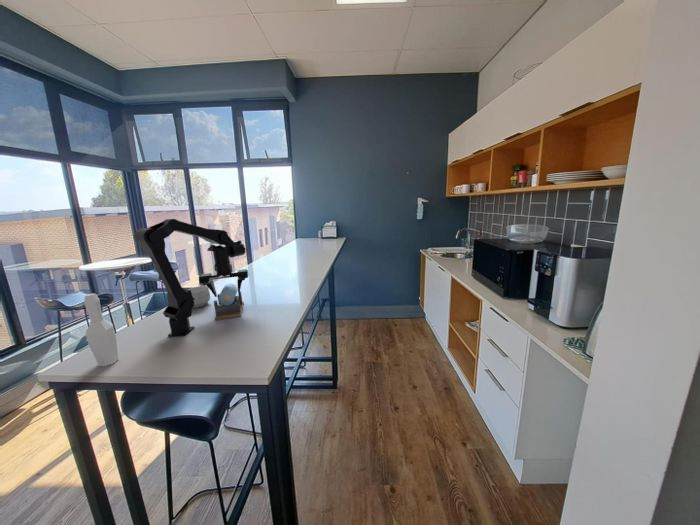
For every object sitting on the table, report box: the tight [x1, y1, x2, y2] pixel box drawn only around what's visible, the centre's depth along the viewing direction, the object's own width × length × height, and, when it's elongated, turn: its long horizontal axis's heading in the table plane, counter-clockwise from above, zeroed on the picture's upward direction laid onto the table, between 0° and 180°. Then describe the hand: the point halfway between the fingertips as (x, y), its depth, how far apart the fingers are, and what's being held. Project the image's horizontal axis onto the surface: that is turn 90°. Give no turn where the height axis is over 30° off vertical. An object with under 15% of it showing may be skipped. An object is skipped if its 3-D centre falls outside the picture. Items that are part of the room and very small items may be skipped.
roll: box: [218, 283, 238, 305], centre depth 118 cm, size 12×6×6 cm, turn 17°
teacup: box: [187, 284, 211, 309], centre depth 130 cm, size 14×11×8 cm
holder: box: [213, 290, 245, 321], centre depth 119 cm, size 16×10×7 cm, turn 17°
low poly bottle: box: [83, 293, 119, 367], centre depth 82 cm, size 6×6×22 cm
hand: (227, 295), depth 118 cm, fingers open, 9 cm apart
